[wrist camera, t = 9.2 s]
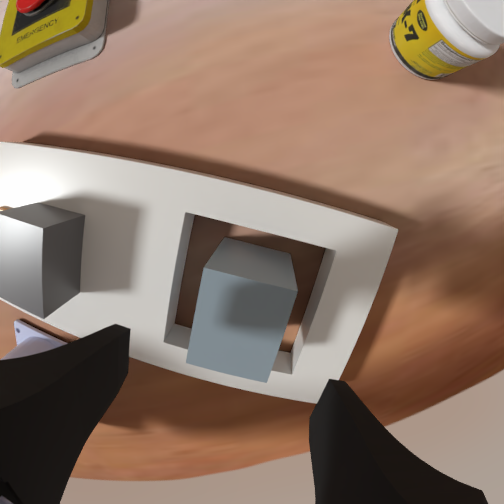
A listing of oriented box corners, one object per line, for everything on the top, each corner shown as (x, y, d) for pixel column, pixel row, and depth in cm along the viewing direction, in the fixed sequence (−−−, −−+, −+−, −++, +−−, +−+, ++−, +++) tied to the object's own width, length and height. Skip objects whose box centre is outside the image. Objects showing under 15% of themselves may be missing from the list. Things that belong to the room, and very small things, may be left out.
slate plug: (268, 325, 20) (266, 383, 14) (208, 310, 20) (185, 363, 14) (290, 253, 19) (298, 291, 13) (224, 236, 19) (203, 267, 13)
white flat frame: (321, 382, 21) (327, 410, 18) (14, 286, 21) (-9, 299, 18) (383, 221, 18) (402, 231, 15) (21, 142, 18) (-6, 141, 15)
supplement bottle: (391, 7, 14) (445, -57, 6) (451, 37, 14) (522, -5, 6) (381, 63, 15) (445, 7, 7) (445, 93, 15) (528, 65, 7)
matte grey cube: (80, 292, 18) (43, 319, 14) (35, 274, 18) (-3, 295, 14) (85, 214, 16) (42, 228, 12) (38, 202, 16) (-5, 212, 12)
